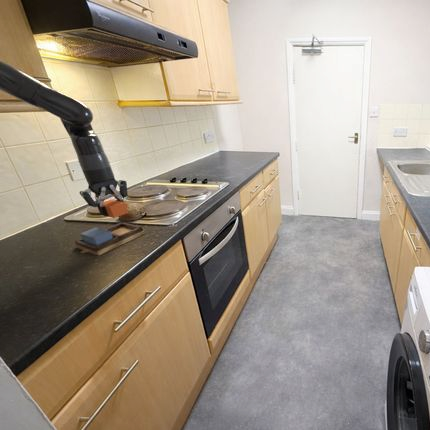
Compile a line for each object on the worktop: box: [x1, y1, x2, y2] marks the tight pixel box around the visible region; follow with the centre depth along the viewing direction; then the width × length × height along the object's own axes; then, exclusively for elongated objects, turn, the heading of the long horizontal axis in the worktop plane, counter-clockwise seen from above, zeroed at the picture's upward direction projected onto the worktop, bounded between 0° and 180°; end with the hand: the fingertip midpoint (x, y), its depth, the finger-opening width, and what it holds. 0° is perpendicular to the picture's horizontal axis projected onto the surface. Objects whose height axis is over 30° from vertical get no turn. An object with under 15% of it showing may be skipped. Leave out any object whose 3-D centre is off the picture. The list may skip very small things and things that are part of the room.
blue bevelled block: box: [80, 227, 113, 246], centre depth 91 cm, size 5×8×4 cm, turn 66°
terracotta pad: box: [97, 199, 129, 219], centre depth 94 cm, size 5×8×4 cm, turn 66°
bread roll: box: [117, 202, 148, 222], centre depth 113 cm, size 10×10×8 cm
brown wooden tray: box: [74, 221, 146, 256], centre depth 95 cm, size 16×13×3 cm
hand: (114, 212), depth 95 cm, fingers closed on terracotta pad, 5 cm apart
